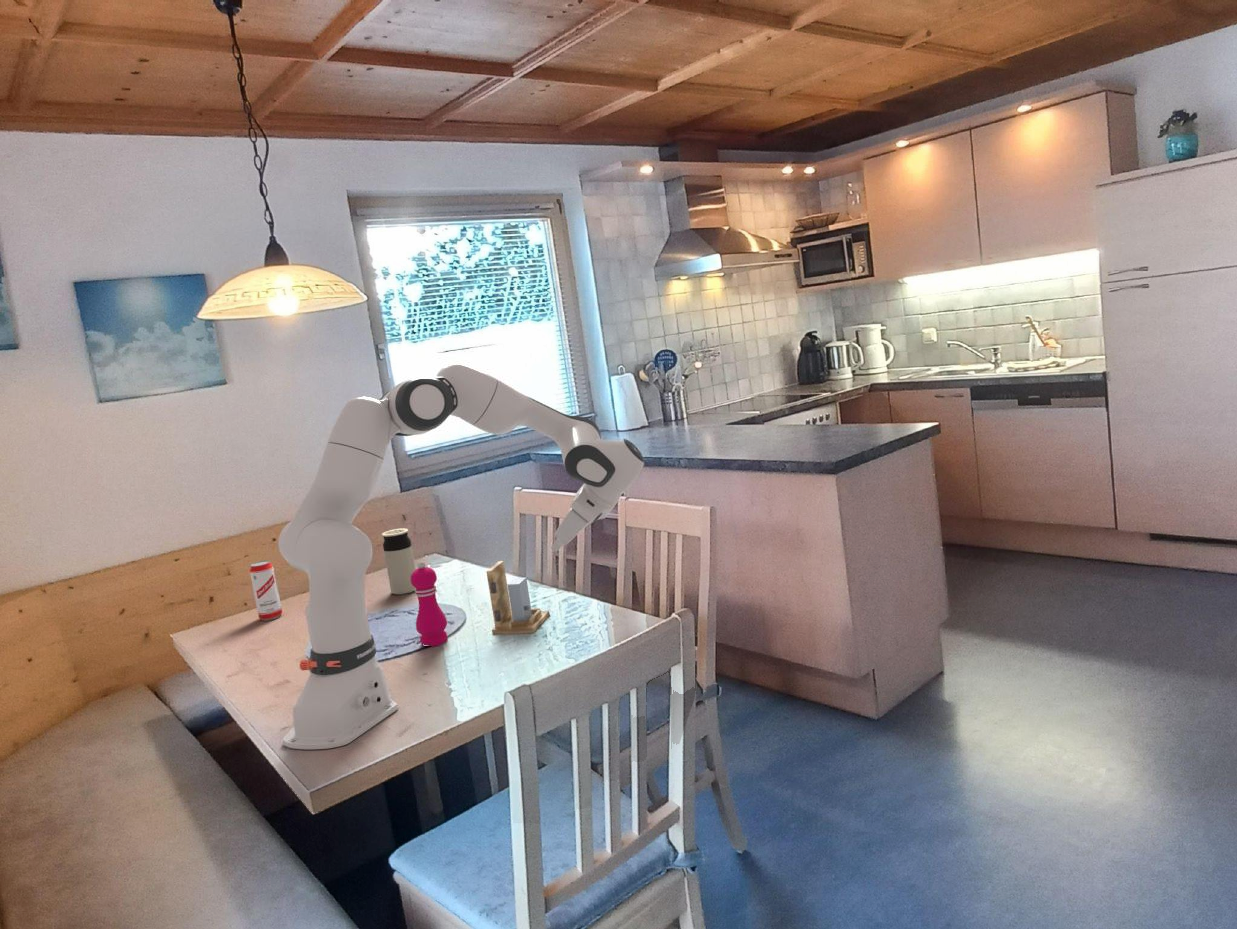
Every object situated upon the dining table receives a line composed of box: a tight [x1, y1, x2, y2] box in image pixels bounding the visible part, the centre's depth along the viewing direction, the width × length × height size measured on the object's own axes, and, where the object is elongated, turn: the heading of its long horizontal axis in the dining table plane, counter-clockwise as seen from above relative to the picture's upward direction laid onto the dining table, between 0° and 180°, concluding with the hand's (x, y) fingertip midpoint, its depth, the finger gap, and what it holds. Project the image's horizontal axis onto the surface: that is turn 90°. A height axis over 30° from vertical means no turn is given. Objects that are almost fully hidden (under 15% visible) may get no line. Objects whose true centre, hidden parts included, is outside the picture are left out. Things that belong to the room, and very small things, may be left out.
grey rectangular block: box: [507, 577, 532, 621], centre depth 201 cm, size 5×4×10 cm
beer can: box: [249, 560, 283, 622], centre depth 234 cm, size 6×6×16 cm
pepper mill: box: [411, 560, 448, 647], centre depth 196 cm, size 7×7×20 cm
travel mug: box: [381, 527, 417, 596], centre depth 243 cm, size 8×8×18 cm
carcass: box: [486, 560, 550, 635], centre depth 201 cm, size 12×10×15 cm
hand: (560, 544), depth 196 cm, fingers open, 8 cm apart
